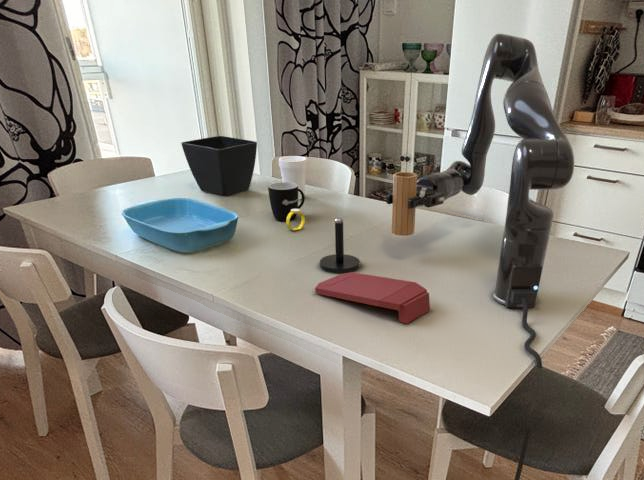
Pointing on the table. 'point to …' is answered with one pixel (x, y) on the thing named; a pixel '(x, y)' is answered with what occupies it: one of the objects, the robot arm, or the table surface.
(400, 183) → the wooden tube
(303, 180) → the foam cup
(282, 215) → the mug
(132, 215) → the casserole dish
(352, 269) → the stand
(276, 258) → the table surface
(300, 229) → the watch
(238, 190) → the flower pot
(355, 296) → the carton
